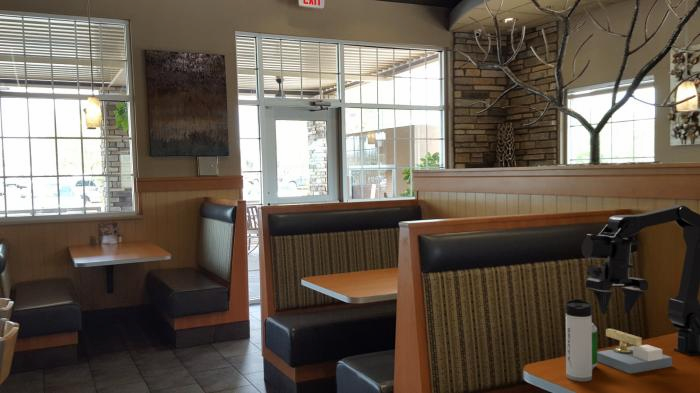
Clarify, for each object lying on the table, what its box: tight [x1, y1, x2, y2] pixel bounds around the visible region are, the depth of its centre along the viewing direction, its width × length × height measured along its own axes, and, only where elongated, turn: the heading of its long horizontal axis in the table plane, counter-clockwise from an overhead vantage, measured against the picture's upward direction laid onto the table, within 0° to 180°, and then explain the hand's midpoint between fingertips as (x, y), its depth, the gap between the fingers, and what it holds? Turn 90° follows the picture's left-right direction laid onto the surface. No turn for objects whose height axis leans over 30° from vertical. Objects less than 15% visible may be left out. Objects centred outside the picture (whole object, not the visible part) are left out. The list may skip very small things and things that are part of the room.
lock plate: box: [597, 345, 673, 374], centre depth 162 cm, size 15×12×3 cm
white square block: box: [633, 344, 663, 361], centre depth 160 cm, size 5×5×3 cm
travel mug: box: [565, 298, 593, 383], centre depth 152 cm, size 6×7×20 cm
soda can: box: [592, 322, 598, 370], centre depth 160 cm, size 8×8×12 cm
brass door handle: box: [605, 328, 643, 353], centre depth 166 cm, size 4×11×5 cm, turn 20°
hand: (614, 313), depth 168 cm, fingers open, 9 cm apart
